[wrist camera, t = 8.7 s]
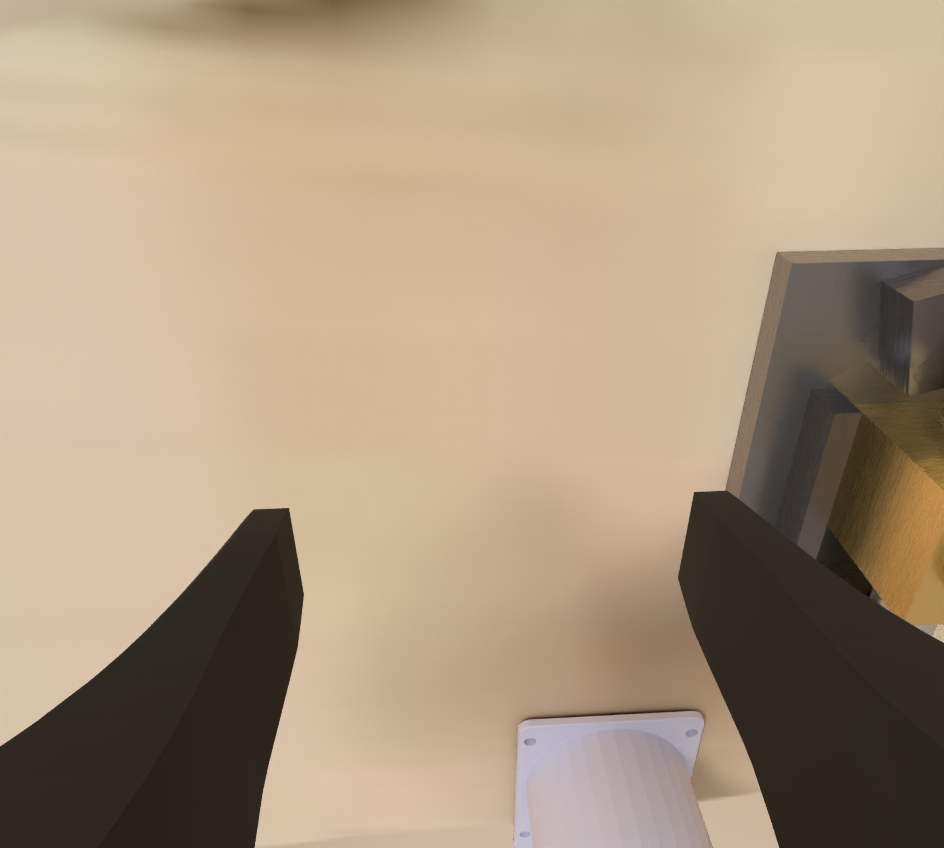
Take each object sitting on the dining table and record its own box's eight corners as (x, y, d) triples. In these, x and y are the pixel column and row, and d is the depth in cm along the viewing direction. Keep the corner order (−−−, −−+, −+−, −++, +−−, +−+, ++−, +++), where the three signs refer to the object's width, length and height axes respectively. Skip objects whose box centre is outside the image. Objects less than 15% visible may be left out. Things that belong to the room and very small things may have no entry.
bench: (942, 612, 29) (1023, 709, 25) (697, 623, 29) (740, 725, 25) (1125, 210, 21) (1289, 260, 17) (784, 217, 20) (871, 271, 16)
